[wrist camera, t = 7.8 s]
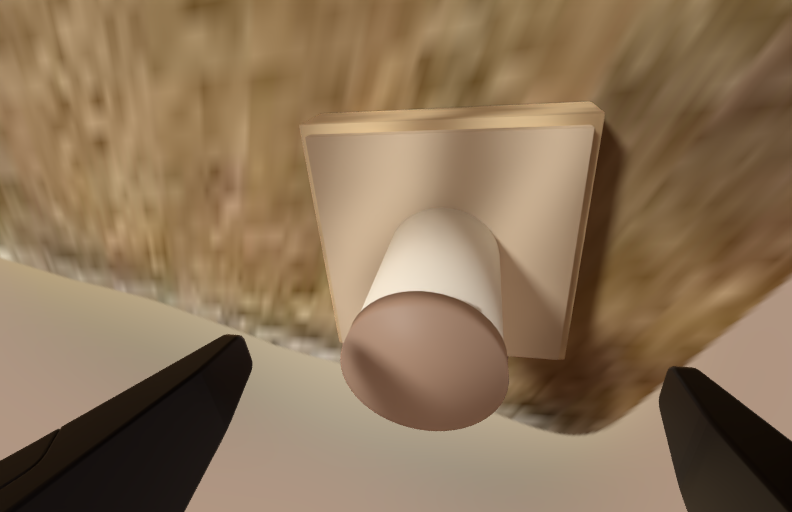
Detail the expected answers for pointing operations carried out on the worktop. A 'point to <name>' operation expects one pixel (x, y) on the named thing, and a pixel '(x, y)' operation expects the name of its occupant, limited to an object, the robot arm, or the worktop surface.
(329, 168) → the block
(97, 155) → the worktop surface
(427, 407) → the spice tin
